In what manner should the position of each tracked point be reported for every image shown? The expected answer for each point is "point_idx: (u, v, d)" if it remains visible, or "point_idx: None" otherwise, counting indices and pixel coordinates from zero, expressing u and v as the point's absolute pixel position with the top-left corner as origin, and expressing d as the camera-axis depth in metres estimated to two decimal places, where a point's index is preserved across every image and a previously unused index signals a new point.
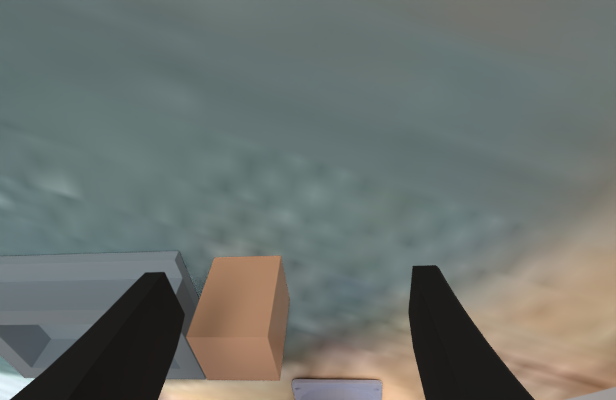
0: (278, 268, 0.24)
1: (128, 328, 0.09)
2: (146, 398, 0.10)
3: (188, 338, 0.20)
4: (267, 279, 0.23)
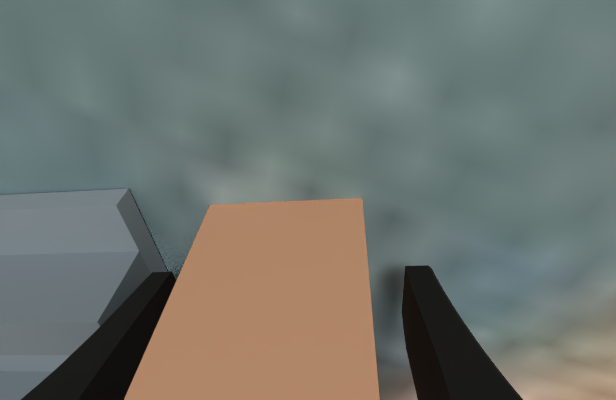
0: (363, 224, 0.10)
1: (137, 328, 0.09)
2: None
3: None
4: (342, 248, 0.09)
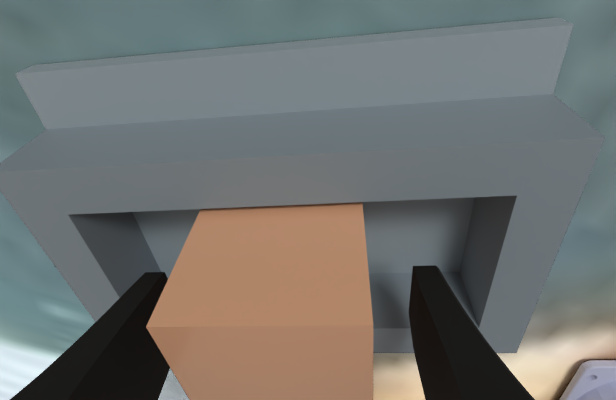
0: None
1: (128, 328, 0.09)
2: (146, 398, 0.10)
3: (152, 330, 0.08)
4: None
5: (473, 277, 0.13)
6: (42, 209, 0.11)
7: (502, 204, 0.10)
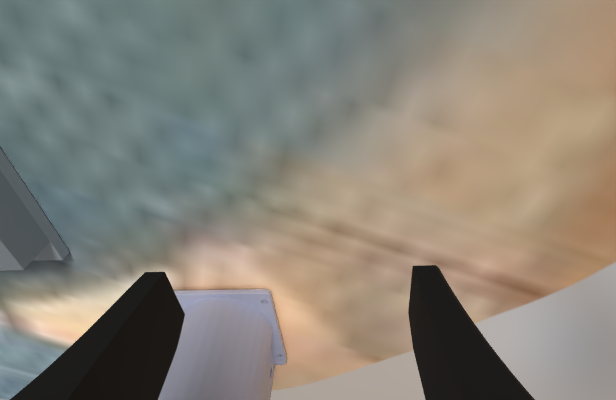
0: None
1: (128, 328, 0.09)
2: (146, 398, 0.10)
3: None
4: None
5: None
6: None
7: None
